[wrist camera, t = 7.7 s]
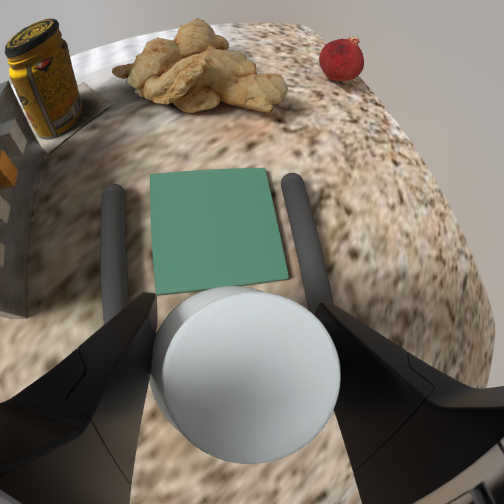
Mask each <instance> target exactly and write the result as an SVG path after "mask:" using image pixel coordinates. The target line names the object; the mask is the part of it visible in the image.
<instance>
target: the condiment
mask: <svg viewBox="0 0 504 504" xmlns="http://www.w3.org/2000/svg"><path fill="white" fill-rule="evenodd" d="M61 36H62V34H61V32H60V31H59V23H58V21H57V20H55V19H45V20H42V21H39V22H36V23H34V24H31V25H30V26H28V27H26V28H24V29H23V30H21V31H20V32H18V33H17V34H16V35H14V36H13V38H11V39H10V41H9V42H8V43H7V45H6V47H5V54H6V56H7V59H8V64H9V65H10V66H11V67H10V69H9V75H10V78H11V81H12V83H13V86H14V88H15V90H16V92H17V95H18V97H19V99H20V102H21V103H22V105H23V108H24V110H25V112H26V114H27V117H28V118H29V120H30V121H29V122H28V123H29V125H30V127H31V129H32V131H33V133H34V134H35V136H36V138H37V140H38V142H39V143H40V145H41V146H42V147H43V149H44V150H45V151H46V153H47V154H48V153H50V152H51V151H52V150H53V149H54V148H56V147H57V146H58V145H60V144H61V143H62V142H63V141H64V140H65V139H67V138H68V137H70V136H71V135H72V134H73V133H75V132H76V131H77V130H78V129H79V128H81V127H82V126H83V125H84V124H85V123H87V122H88V121H90V120H91V119H93V118H94V117H96V116H97V115H99V114H100V113H101V112H102V111H103V110H105V109H106V108H108V107H110V106H111V105H112V104H111V103H110V102H108V101H106V100H105V99H104V98H102V97H101V96H100V95H98V94H97V93H96V92H94V91H93V90H92V89H91V88H90V87H88V86H87V85H86V84H85V83H83V82H82V83H81V84H79V85H77V83H76V79H75V75H74V71H73V68H72V63H71V59H70V55H69V50H68V46H67V43H66V41H65V40H63V39H62V38H61ZM83 117H84V118H83Z"/></svg>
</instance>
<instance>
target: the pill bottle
mask: <svg viewBox="0 0 504 504" xmlns="http://www.w3.org/2000/svg"><path fill="white" fill-rule="evenodd" d="M150 385H151V389H152V392H153V395H154V398H155V400H156V402H157V404H158V406H159V408H160V410H161V411H162V413H163V415H164V416H165V417H166V418H167V419H168V421H169V422H170V423H171V424H172V425H173V426H174V427H175V428H176V429H177V430H178V431H180V432H181V433H182V434H183V435H184V436H185V437H186V438H187V439H188V440H189V441H190V442H191V443H192V444H193V445H195V446H196V447H197V448H199V449H200V450H202V451H203V452H205V453H207V454H209V455H212V456H214V457H216V458H218V459H221V460H225V461H229V462H234V463H241V464H258V463H266V462H271V461H275V460H278V459H281V458H283V457H286V456H288V455H290V454H292V453H294V452H296V451H297V450H299V449H301V448H302V447H303V446H305V445H306V444H307V443H308V442H310V441H311V440H312V439H313V438H315V437H316V436H317V434H318V433H319V432H320V431H321V430H322V428H323V427H324V426H325V424H326V423H327V421H328V419H329V418H330V416H331V414H332V412H333V409H334V407H335V404H336V401H337V397H338V394H339V388H340V363H339V358H338V354H337V351H336V348H335V346H334V343H333V341H332V339H331V337H330V335H329V334H328V332H327V330H326V328H325V327H324V326H323V324H322V323H321V322H320V321H319V319H318V318H317V317H315V316H314V315H313V314H312V313H311V312H310V311H309V310H307V309H306V308H305V307H303V306H302V305H300V304H299V303H297V302H295V301H293V300H291V299H288V298H286V297H283V296H279V295H276V294H271V293H266V292H263V291H260V290H257V289H254V288H249V287H242V286H224V287H217V288H212V289H208V290H206V291H203V292H200V293H198V294H196V295H193V296H192V297H190V298H188V299H187V300H185V301H184V302H182V303H180V304H179V305H178V306H177V307H175V308H174V309H173V310H172V311H171V312H170V314H169V315H168V316H167V317H166V319H165V320H164V322H163V323H162V324H161V326H160V328H159V329H158V331H157V333H156V336H155V338H154V345H153V355H152V366H151V374H150Z"/></svg>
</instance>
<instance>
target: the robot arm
mask: <svg viewBox="0 0 504 504" xmlns="http://www.w3.org/2000/svg"><path fill="white" fill-rule="evenodd" d="M314 316H315V317H317V318H318V319H319V321H320V322H321V323H322V324H323V326H324V327H325V328H326V330H327V332H328V334H329V335H330V337H331V339H332V341H333V343H334V346H335V348H336V351H337V354H338V358H339V363H340V388H339V394H338V397H337V401H336V404H335V407H334V412H335V415H336V418H337V421H338V424H339V428H340V431H341V434H342V437H343V440H344V444H345V447H346V450H347V453H348V457H349V460H350V463H351V467H352V470H353V472H354V473H353V474H354V477H355V481H356V484H357V488H358V491H359V494H360V498H361V501H362V504H504V386H501V387H494V388H485V389H477V388H472V387H469V386H467V385H465V384H463V383H461V382H459V381H457V380H455V379H454V378H452V377H450V376H448V375H446V374H444V373H442V372H441V371H439V370H437V369H435V368H433V367H432V366H430V365H428V364H426V363H425V362H423V361H422V360H420V359H418V358H417V357H415V356H414V355H412V354H411V353H409V352H407V351H406V350H404V349H403V348H401V347H400V346H398V345H396V344H395V343H393V342H392V341H390V340H389V339H387V338H386V337H384V336H382V335H381V334H379V333H378V332H376V331H375V330H373V329H372V328H370V327H368V326H367V325H365V324H364V323H362V322H361V321H359V320H358V319H356V318H354V317H353V316H351V315H350V314H348V313H347V312H345V311H344V310H342V309H340V308H339V307H337V306H336V305H334V304H333V303H331V302H320V303H318V305H317V307H316V310H315V313H314ZM156 328H157V295H156V294H155V293H147V292H144V293H142V294H141V295H139V296H138V297H137V298H136V299H135V300H133V301H132V302H131V303H130V304H128V305H127V306H126V307H125V308H124V309H122V310H121V311H120V312H119V313H118V314H116V315H115V316H114V317H113V318H112V319H111V320H109V321H108V322H107V323H106V324H105V325H103V326H102V327H101V328H100V329H99V330H98V331H96V332H95V333H94V334H93V335H92V336H91V337H89V338H88V339H87V340H86V341H85V342H84V343H82V344H81V345H80V346H79V347H78V349H75V350H74V351H73V352H72V353H71V354H70V355H69V356H67V357H66V358H65V359H64V360H63V361H61V362H60V363H59V364H58V365H57V366H55V367H54V368H53V369H51V370H50V371H49V372H47V373H46V374H45V375H43V376H42V377H40V378H39V379H38V380H36V381H35V382H33V383H32V384H31V385H29V386H28V387H26V388H25V389H24V390H22V391H21V392H19V393H18V394H17V395H15V396H14V397H12V398H11V399H9V400H7V401H5V402H2V403H0V504H129V502H130V493H131V486H130V485H131V484H132V476H133V469H134V462H135V455H136V449H137V443H138V437H139V431H140V425H141V419H142V414H143V409H144V403H145V398H146V393H147V389H148V384H149V379H150V374H151V366H152V355H153V345H154V338H155V336H156Z"/></svg>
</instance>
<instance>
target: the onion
mask: <svg viewBox="0 0 504 504" xmlns="http://www.w3.org/2000/svg"><path fill="white" fill-rule="evenodd" d="M359 42H360V41H359V39H358V38H357V37H350V38H348V39H338V40H335V41H331V42H330V43H328V44H326V45H325V46H324V48H323V49H322V51H321V53H320V57H319V62H320V66H321V68H322V70H323V72H324V73H325V74H326V75H327V77H328V78H329V79H330V80H332V81H349V80H352V79H354V78H356V77H357V76H358V75H359V74H360V73H361V72H362V70H363V67H364V58H363V54H362V51H361V49H360V48H359V46H358V43H359Z"/></svg>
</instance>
